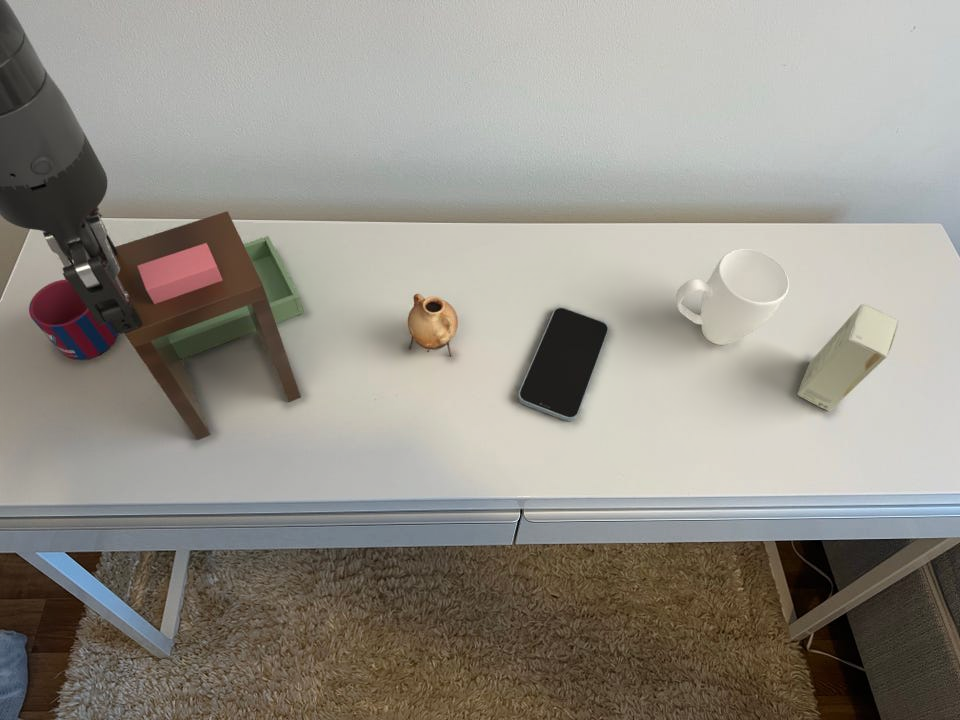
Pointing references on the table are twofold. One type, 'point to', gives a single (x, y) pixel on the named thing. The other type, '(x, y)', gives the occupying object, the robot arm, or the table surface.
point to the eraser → (179, 273)
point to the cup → (70, 322)
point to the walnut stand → (197, 308)
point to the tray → (240, 321)
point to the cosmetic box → (848, 357)
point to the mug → (737, 295)
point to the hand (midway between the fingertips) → (117, 291)
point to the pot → (432, 323)
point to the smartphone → (563, 364)
